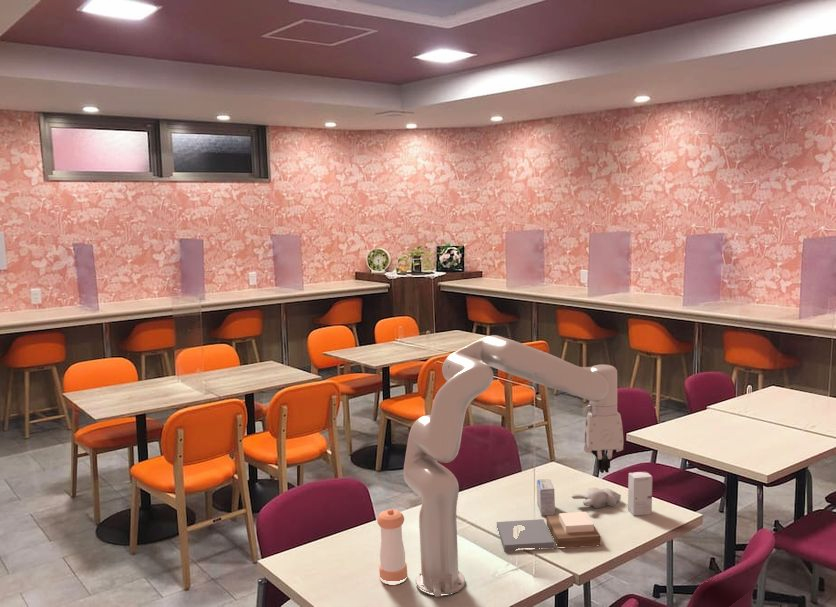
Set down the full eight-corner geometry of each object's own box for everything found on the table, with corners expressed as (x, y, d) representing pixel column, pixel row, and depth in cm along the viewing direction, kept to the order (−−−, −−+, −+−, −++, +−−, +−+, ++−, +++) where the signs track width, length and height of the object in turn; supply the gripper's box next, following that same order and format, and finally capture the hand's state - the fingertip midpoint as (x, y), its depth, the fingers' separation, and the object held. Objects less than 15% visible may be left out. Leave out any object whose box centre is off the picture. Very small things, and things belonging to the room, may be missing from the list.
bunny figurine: (627, 493, 223) (588, 498, 217) (625, 509, 224) (587, 514, 218) (607, 482, 232) (569, 487, 226) (606, 498, 232) (568, 502, 226)
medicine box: (555, 515, 219) (554, 489, 218) (540, 516, 219) (540, 489, 218) (551, 504, 227) (550, 478, 225) (536, 504, 227) (536, 479, 226)
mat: (554, 548, 199) (554, 542, 199) (504, 551, 199) (504, 545, 198) (543, 525, 213) (543, 519, 213) (496, 528, 212) (496, 522, 212)
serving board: (600, 545, 200) (600, 535, 199) (557, 548, 199) (557, 538, 199) (586, 522, 213) (586, 513, 213) (546, 525, 213) (546, 515, 212)
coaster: (593, 531, 202) (593, 524, 202) (565, 532, 202) (565, 526, 201) (585, 518, 210) (585, 511, 210) (559, 519, 210) (558, 513, 209)
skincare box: (633, 516, 216) (633, 478, 215) (627, 509, 221) (627, 472, 219) (652, 514, 217) (653, 476, 215) (646, 507, 222) (646, 470, 220)
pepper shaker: (392, 568, 193) (389, 501, 190) (413, 576, 188) (410, 507, 185) (374, 579, 187) (370, 511, 184) (395, 588, 182) (391, 518, 179)
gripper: (580, 414, 197) (580, 477, 200) (634, 411, 197) (634, 474, 200) (573, 406, 204) (573, 467, 207) (625, 403, 205) (625, 464, 208)
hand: (603, 470), depth 204 cm, fingers closed
